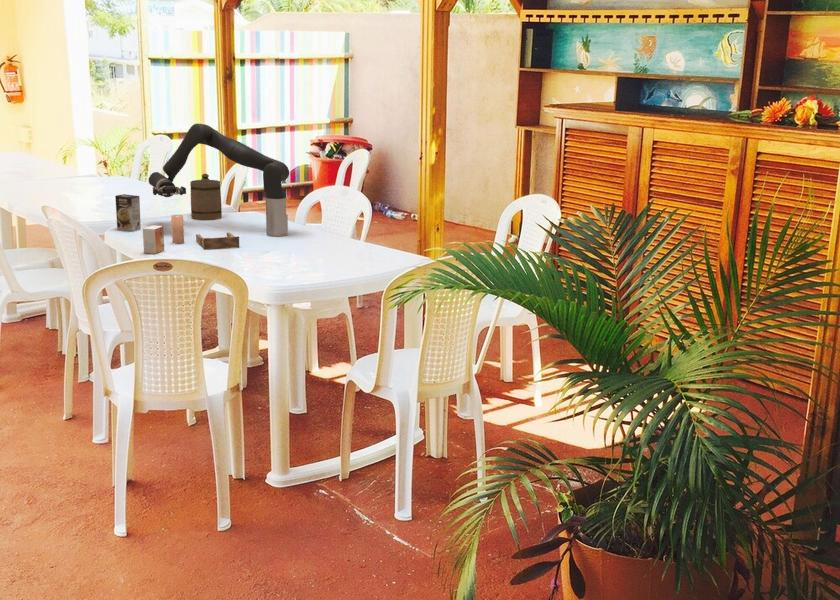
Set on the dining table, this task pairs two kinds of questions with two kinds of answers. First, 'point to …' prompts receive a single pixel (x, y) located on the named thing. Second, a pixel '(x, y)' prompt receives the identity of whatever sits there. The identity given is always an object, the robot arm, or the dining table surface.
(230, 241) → the keyhole track
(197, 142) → the robot arm
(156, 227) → the small box
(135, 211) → the coffee box
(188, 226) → the dining table surface
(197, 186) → the wooden container
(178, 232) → the salmon orange cylinder
